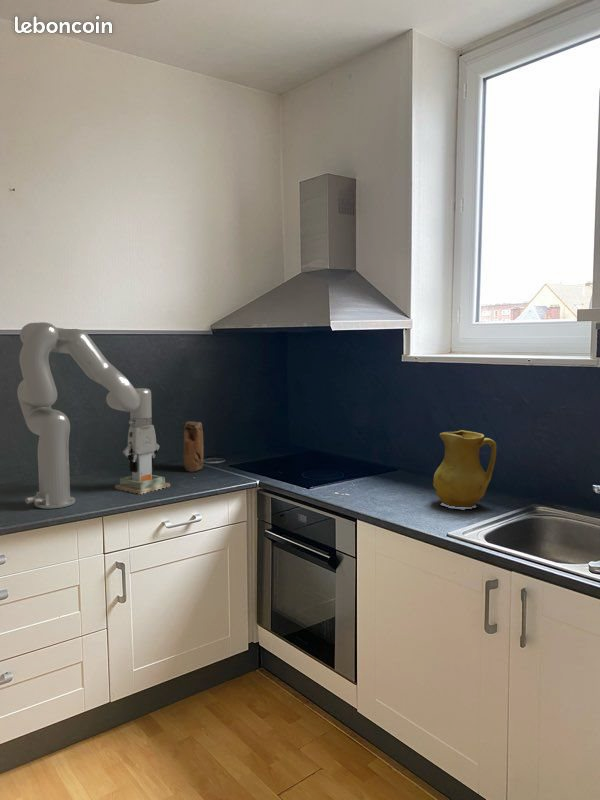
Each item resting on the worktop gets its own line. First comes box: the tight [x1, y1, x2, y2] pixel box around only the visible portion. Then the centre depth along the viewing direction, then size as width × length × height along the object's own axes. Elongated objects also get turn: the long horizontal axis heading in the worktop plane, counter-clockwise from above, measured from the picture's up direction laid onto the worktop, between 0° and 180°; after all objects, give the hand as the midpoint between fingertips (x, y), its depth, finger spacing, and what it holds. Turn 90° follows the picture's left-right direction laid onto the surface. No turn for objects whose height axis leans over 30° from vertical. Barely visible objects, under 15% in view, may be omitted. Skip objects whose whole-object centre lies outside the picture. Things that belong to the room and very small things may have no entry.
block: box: [183, 421, 204, 473], centre depth 261 cm, size 11×8×20 cm
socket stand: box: [114, 474, 171, 495], centre depth 231 cm, size 14×14×4 cm
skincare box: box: [131, 452, 153, 482], centre depth 230 cm, size 6×4×12 cm
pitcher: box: [432, 429, 497, 507], centre depth 207 cm, size 17×19×25 cm
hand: (142, 469), depth 230 cm, fingers open, 7 cm apart
